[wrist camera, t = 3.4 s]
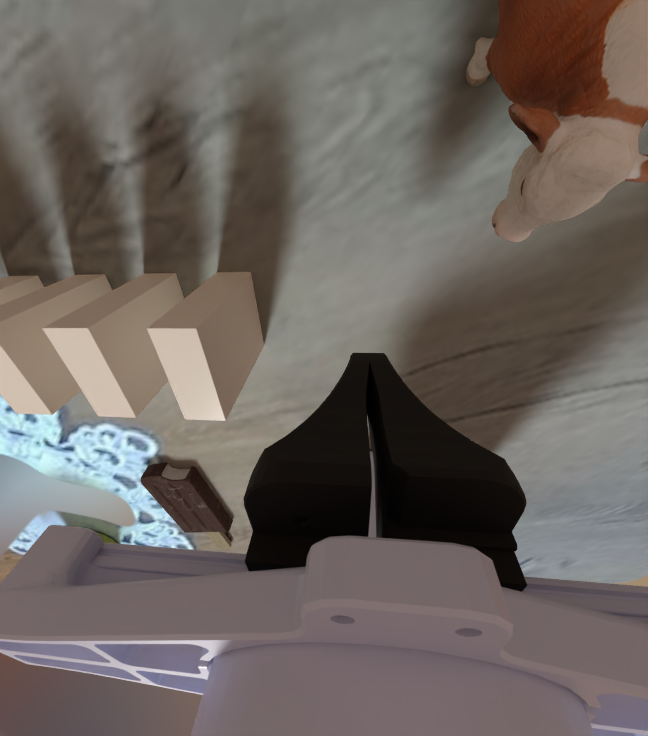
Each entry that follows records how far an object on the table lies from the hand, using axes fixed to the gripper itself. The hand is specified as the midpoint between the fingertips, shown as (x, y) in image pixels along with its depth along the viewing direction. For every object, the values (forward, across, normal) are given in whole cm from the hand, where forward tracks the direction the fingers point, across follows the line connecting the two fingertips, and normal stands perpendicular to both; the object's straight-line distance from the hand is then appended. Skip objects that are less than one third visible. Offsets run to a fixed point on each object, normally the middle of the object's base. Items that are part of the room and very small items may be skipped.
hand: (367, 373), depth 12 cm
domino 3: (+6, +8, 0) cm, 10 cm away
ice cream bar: (+7, +17, +23) cm, 29 cm away
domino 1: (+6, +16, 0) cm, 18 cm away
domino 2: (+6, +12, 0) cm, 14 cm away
